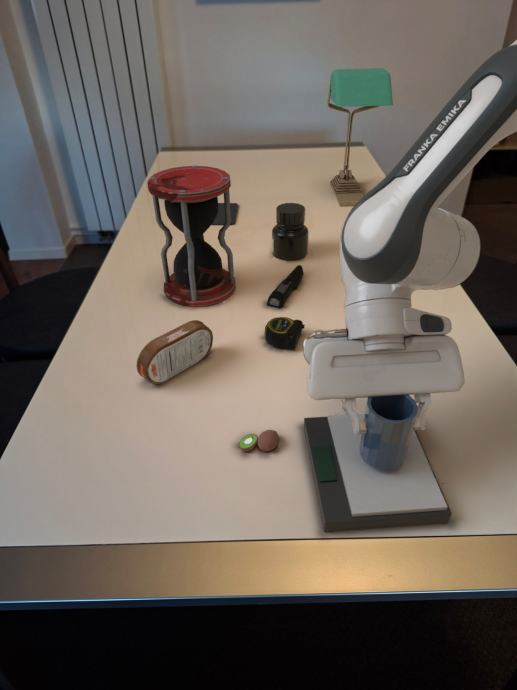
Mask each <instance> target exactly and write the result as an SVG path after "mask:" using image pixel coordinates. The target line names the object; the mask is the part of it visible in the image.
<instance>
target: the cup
mask: <svg viewBox="0 0 517 690" xmlns="http://www.w3.org/2000/svg"><path fill="white" fill-rule="evenodd" d="M417 412H418V403H416V402H415V398H414V397H412V396H410V395H408V394H407V395H391V396H375V397H367V401H366V405H365V412H364V413H365V417H364V420H366V426H365V427H366V428H367V433H365V434H362V435H361V441H360V448H359V451H360V455H361V457H362V459H363V460H364V461H365V462H366V463H367V464H368V465H370V466H371V467H373V468H376V469H379V470H385V471H389V470H394V469H397V468H399V467H400V466H402V464H403V463H404V461H405V459H406V456H407V452H408V448H409V444H410V440H411V436H412V432H413V429H414V425H415V421H416V417H417Z"/></svg>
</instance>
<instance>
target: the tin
mask: <svg viewBox="0 0 517 690" xmlns="http://www.w3.org/2000/svg"><path fill="white" fill-rule="evenodd" d="M213 343H214V334H213V331H212V329H211V328H210V327H208V326H207V325H206V324H205V323H204V322H203V321H201V320H198V319H194V320H189V321H187V322H184V323H182V324H181V325H179V326H177V327H175V328H173V329H171V330H169V331H167V332H165V333H163V334H161V335H159V336H157V337H154V338H153V339H151V340H150V341H149V342H147V344H145V345H144V347H143V348H142V349H141V351H140V352H139V354H138V357H137V359H136V371H137V373H138V375H139V376H140V377H141V378H144V379H145V380H146V381H147V382H148V383H150V384H153V385H161V384H164V383H165V382H168V381H169V380H171V379H173V378H174V377H176V376H178V375H179V374H181V373H184V372H185V371H187V370H188V369H190V368H192V367H194V365H197V364H198V363H200V362H201V361H203V360H205V359H206V357H207V356H208V355H209V353H210V352H211V350H212V348H213Z"/></svg>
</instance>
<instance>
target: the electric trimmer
mask: <svg viewBox="0 0 517 690" xmlns="http://www.w3.org/2000/svg"><path fill="white" fill-rule="evenodd" d="M304 273H305V272H304V267H303V265H301V264H298V265H297V266H296V267H294V269H293V270H292V271H291V272H290V273H289V274H288V275H287V276H286V277H285V278H284V279H283V280H282V281H281V282H280V283H279V284H278V285H277V286H276V287H275V288H274V290H273V291H272V292H271V293H270V294H269V296H268V298H267V302H266V306H267V307H271V308H275V309H281V308H283V307H284V306H285V302H286V299H287V298H288V296H289V295H290V293H291V292H292V291H295V290H296V289H297V288H298V286H299V285H300V283H301V280H302V278H303V277H304Z"/></svg>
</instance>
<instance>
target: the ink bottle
mask: <svg viewBox="0 0 517 690" xmlns="http://www.w3.org/2000/svg"><path fill="white" fill-rule="evenodd" d="M275 211H276V212H275V213H276V214H275V215H276V216H275V219H276V224H275V225H274V226H273V227H272V229H271V255H272V256H273V257H274V258H276V259H278V260H281V261H285V262H295V261H299V260H302V259H305V258H306V257H307V255H308V253H309V232H310V231H309V228H308V227H307V225H305V220H306V207H305V206H304V205H303V204H301V203H297V202H284V203H281V204H278V205H277V206H276V209H275Z"/></svg>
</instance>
